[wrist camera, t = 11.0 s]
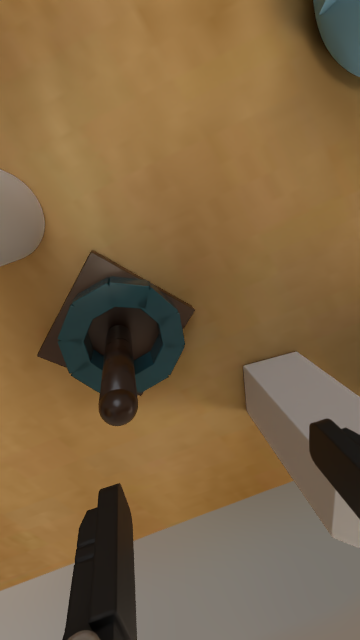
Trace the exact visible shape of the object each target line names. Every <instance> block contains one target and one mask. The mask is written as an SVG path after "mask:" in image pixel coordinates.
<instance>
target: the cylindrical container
mask: <svg viewBox="0 0 360 640" xmlns="http://www.w3.org/2000/svg"><path fill="white" fill-rule="evenodd" d="M44 228H45V221H44V214H43V211H42V207H41V205H40V203H39V201H38V199H37V198H36V196H35V195H34V193H33V192H32V191H31V189H30V188H29V187H28V186H27V185H26V184H25V183H24V182H22V181H21V180H19V179H18V178H17V177H15V176H14V175H12V174H10V173H7V172H5V171H3V170H1V169H0V266H3V265H6V264H9V263H11V262H14V261H17V260H20V259H22V258H25V257H26V256H28V255H30V254H31V253H32V252H33V251H34V250H35V249H36V248H37V247H38V245H39V244H40V242H41V240H42V237H43V234H44Z"/></svg>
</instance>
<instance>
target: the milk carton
mask: <svg viewBox="0 0 360 640" xmlns="http://www.w3.org/2000/svg"><path fill="white" fill-rule="evenodd" d="M243 373H244V384H245V396H246V408H247V412H248V414H249V415H250V417H251V418H252V420H253V421H254V423H255V424H256V426H257V427H258V429H259V430H260V432H261V433H262V435H263V436H264V437H265V439H266V440H267V442H268V443H269V445H270V446H271V448H272V449H273V451H274V452H275V454H276V455H277V457H278V458H279V460H280V461H281V462H282V464H283V465H284V467H285V468H286V470H287V471H288V473H289V474H290V476H291V477H292V479H293V480H294V482H295V483H296V485H297V486H298V487H299V489H300V490H301V492H302V493H303V495H304V496H305V498H306V499H307V501H308V502H309V504H310V505H311V507H312V508H313V510H314V511H315V513H316V514H317V515H318V517H319V518H320V520H321V521H322V523H323V524H324V526H325V527H326V529H327V530H328V532H329V533H330V534H331V536H332V537H333V538H335V539H337V540H340V541H342V542H345V543H348V544H350V545H352V546H355V547H358V548H360V519H359V518H358V517H357V516H356V514H355V513H354V512H353V511H352V509H351V508H350V507H349V506H348V504H347V503H346V502H345V501H344V499H343V498H342V497H341V496H340V495H339V493H338V492H337V491H336V490H335V488H334V487H333V486H332V485H331V483H330V482H329V481H328V480H327V479H326V477H325V476H324V475H323V474H322V472H321V471H320V470H319V469H318V467H317V466H316V465H315V463H314V462H313V460H312V458H311V455H310V452H309V425H310V424H311V423H313V422H317V421H320V420H323V419H326V418H328V419H331V420H332V421H333V422H334V423H335V424H336V425H338V426H339V427H340V428H341V429H342V428H345V427H346V428H348V429H350V430H352V431H354V432H356V433H358V434H359V435H360V397H359V396H358V395H356V394H355V393H354V392H352V391H351V390H349V389H348V388H347V387H345V386H344V385H342V384H341V383H340V382H338V381H337V380H335V379H334V378H333V377H331V376H330V375H329V374H327V373H326V372H324V371H323V370H322V369H320V368H319V367H317V366H316V365H315V364H313V363H312V362H310V361H309V360H308V359H306V358H305V357H304V356H302V355H301V354H299V353H298V352H293V353H289V354H285V355H281V356H278V357H274V358H270V359H266V360H263V361H259V362H255V363H252V364H248V365H244V366H243Z"/></svg>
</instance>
